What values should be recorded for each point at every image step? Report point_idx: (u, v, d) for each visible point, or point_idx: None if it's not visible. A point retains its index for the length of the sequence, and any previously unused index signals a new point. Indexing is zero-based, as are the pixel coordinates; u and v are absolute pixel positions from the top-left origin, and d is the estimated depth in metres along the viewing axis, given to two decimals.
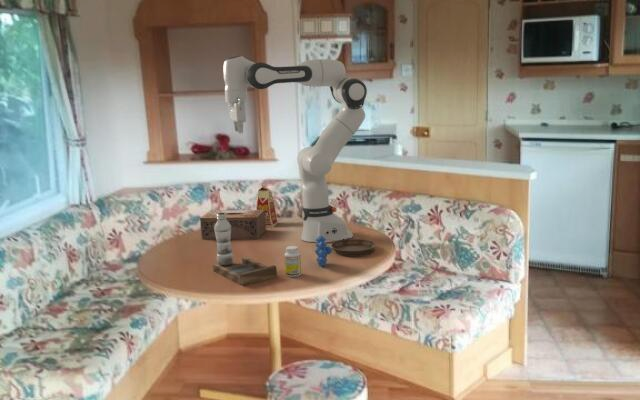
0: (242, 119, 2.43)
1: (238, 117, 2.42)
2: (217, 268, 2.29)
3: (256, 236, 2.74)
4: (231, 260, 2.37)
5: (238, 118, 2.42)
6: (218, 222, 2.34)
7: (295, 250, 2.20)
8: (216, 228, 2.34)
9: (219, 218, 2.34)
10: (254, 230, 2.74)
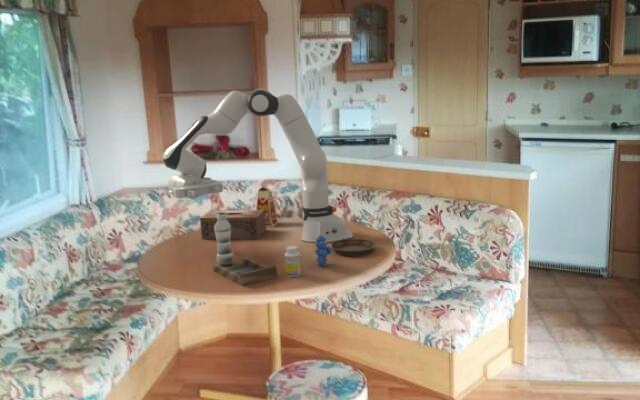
0: (175, 193, 2.42)
1: (175, 196, 2.43)
2: (217, 268, 2.29)
3: (256, 236, 2.74)
4: (231, 260, 2.37)
5: (176, 196, 2.43)
6: (218, 222, 2.34)
7: (295, 250, 2.20)
8: (216, 228, 2.34)
9: (219, 218, 2.34)
10: (254, 230, 2.74)
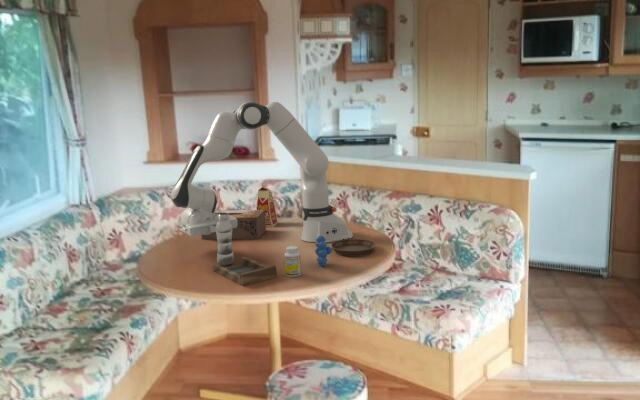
0: (189, 230, 2.37)
1: (189, 234, 2.38)
2: (217, 268, 2.29)
3: (256, 236, 2.74)
4: (231, 260, 2.37)
5: (189, 234, 2.38)
6: (220, 222, 2.33)
7: (295, 250, 2.20)
8: (217, 228, 2.32)
9: (221, 219, 2.32)
10: (254, 230, 2.74)
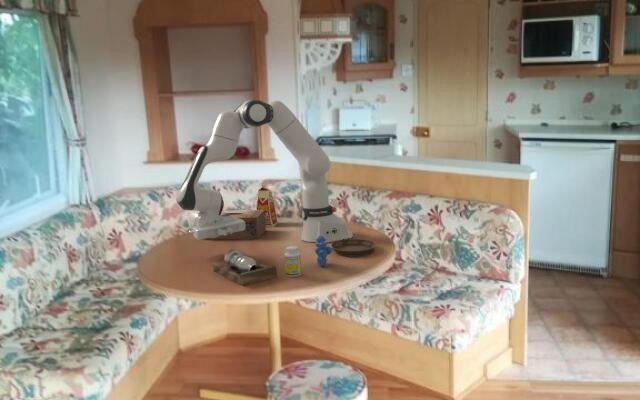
0: (196, 233, 2.32)
1: (196, 237, 2.33)
2: (217, 268, 2.29)
3: (256, 236, 2.74)
4: None
5: (197, 237, 2.32)
6: (245, 269, 2.22)
7: (295, 250, 2.20)
8: (240, 268, 2.23)
9: (248, 271, 2.20)
10: (254, 231, 2.74)
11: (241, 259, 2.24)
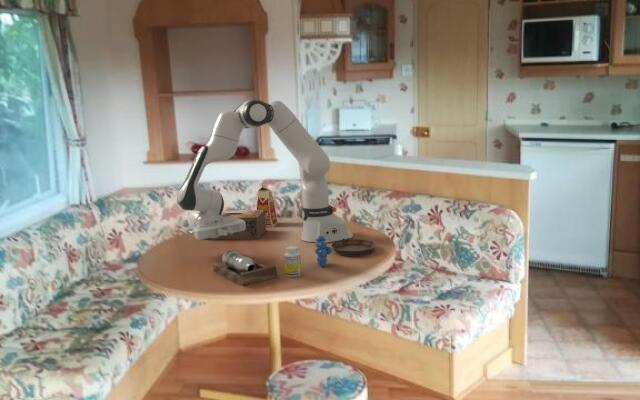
0: (197, 234, 2.31)
1: (197, 237, 2.32)
2: (217, 268, 2.29)
3: (256, 236, 2.74)
4: None
5: (197, 237, 2.32)
6: (243, 270, 2.21)
7: (295, 250, 2.20)
8: (238, 270, 2.22)
9: None
10: (254, 230, 2.74)
11: (237, 261, 2.24)
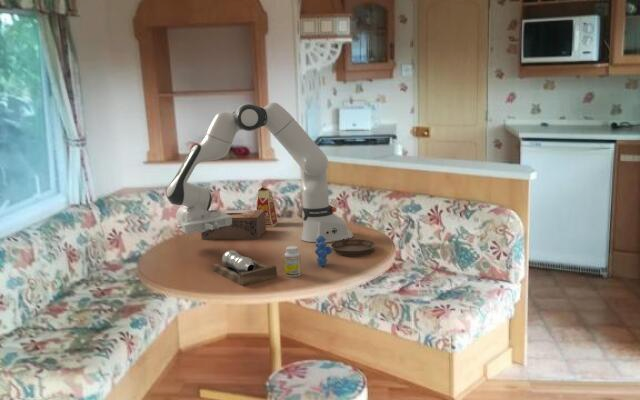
0: (184, 228, 2.40)
1: (184, 231, 2.41)
2: (217, 268, 2.29)
3: (256, 236, 2.74)
4: None
5: (184, 231, 2.41)
6: (243, 270, 2.21)
7: (295, 250, 2.20)
8: (238, 270, 2.22)
9: None
10: (254, 231, 2.74)
11: (237, 261, 2.23)
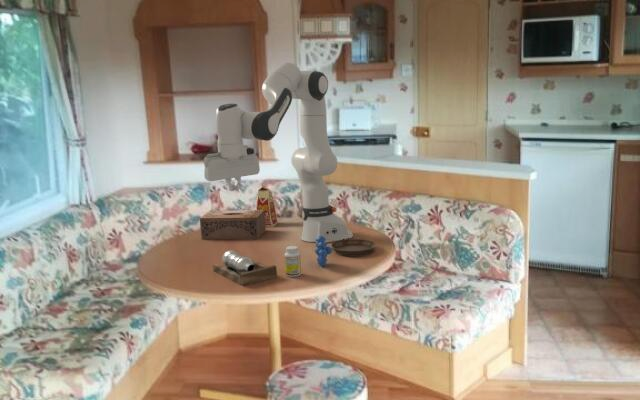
0: (206, 177, 2.13)
1: (204, 175, 2.14)
2: (217, 268, 2.29)
3: (256, 236, 2.74)
4: None
5: None
6: (243, 270, 2.21)
7: (295, 250, 2.20)
8: (238, 270, 2.22)
9: None
10: (254, 231, 2.74)
11: (237, 261, 2.24)
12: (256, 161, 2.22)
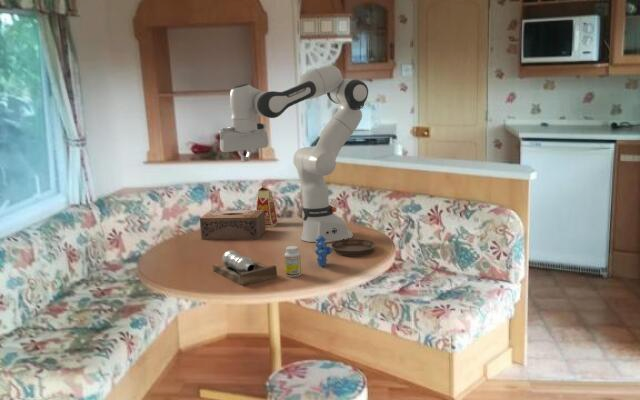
0: (221, 149, 2.41)
1: (220, 147, 2.42)
2: (217, 268, 2.29)
3: (256, 236, 2.74)
4: None
5: (220, 148, 2.42)
6: (243, 270, 2.21)
7: (295, 250, 2.20)
8: (238, 270, 2.22)
9: None
10: (254, 231, 2.73)
11: (237, 261, 2.24)
12: (265, 135, 2.49)
